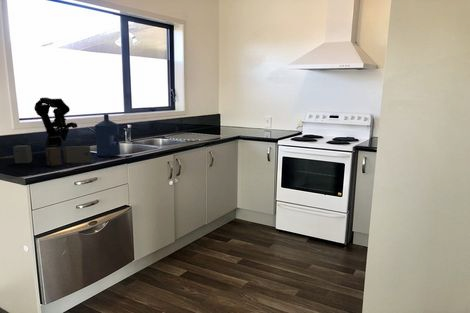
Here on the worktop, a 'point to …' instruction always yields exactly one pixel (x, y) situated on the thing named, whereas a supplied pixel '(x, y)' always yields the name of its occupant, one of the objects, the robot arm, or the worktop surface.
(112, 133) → the water jug
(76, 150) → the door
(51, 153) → the oak post
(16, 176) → the worktop surface
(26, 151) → the small box
